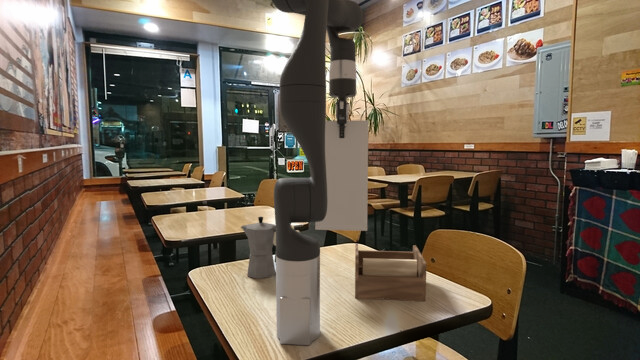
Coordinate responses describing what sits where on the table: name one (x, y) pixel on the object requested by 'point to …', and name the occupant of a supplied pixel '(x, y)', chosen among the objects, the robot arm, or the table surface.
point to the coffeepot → (260, 249)
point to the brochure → (346, 177)
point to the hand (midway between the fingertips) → (342, 140)
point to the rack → (390, 278)
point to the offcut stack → (390, 267)
